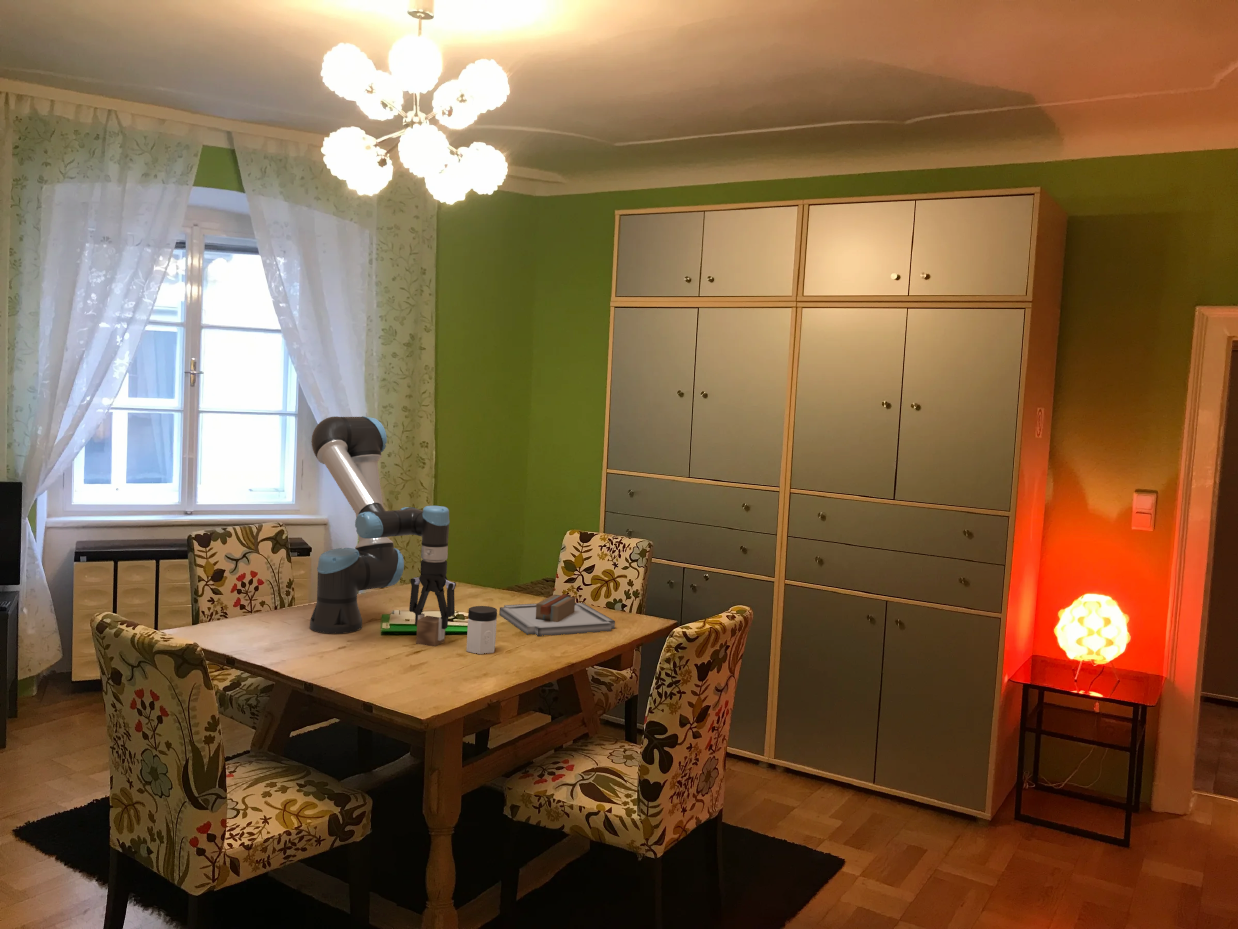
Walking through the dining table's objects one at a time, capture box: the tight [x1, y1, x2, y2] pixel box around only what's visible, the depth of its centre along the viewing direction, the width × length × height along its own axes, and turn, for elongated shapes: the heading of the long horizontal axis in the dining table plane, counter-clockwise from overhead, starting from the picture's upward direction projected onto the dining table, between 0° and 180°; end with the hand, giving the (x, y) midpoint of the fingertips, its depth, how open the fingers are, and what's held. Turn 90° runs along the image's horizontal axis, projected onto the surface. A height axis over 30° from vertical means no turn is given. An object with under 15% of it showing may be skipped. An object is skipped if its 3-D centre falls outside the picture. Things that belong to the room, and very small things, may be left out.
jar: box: [466, 605, 498, 655], centre depth 282 cm, size 9×8×12 cm
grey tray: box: [498, 593, 616, 637], centre depth 319 cm, size 30×30×8 cm
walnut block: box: [415, 615, 446, 648], centre depth 287 cm, size 6×6×7 cm
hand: (430, 637), depth 287 cm, fingers closed on walnut block, 6 cm apart
